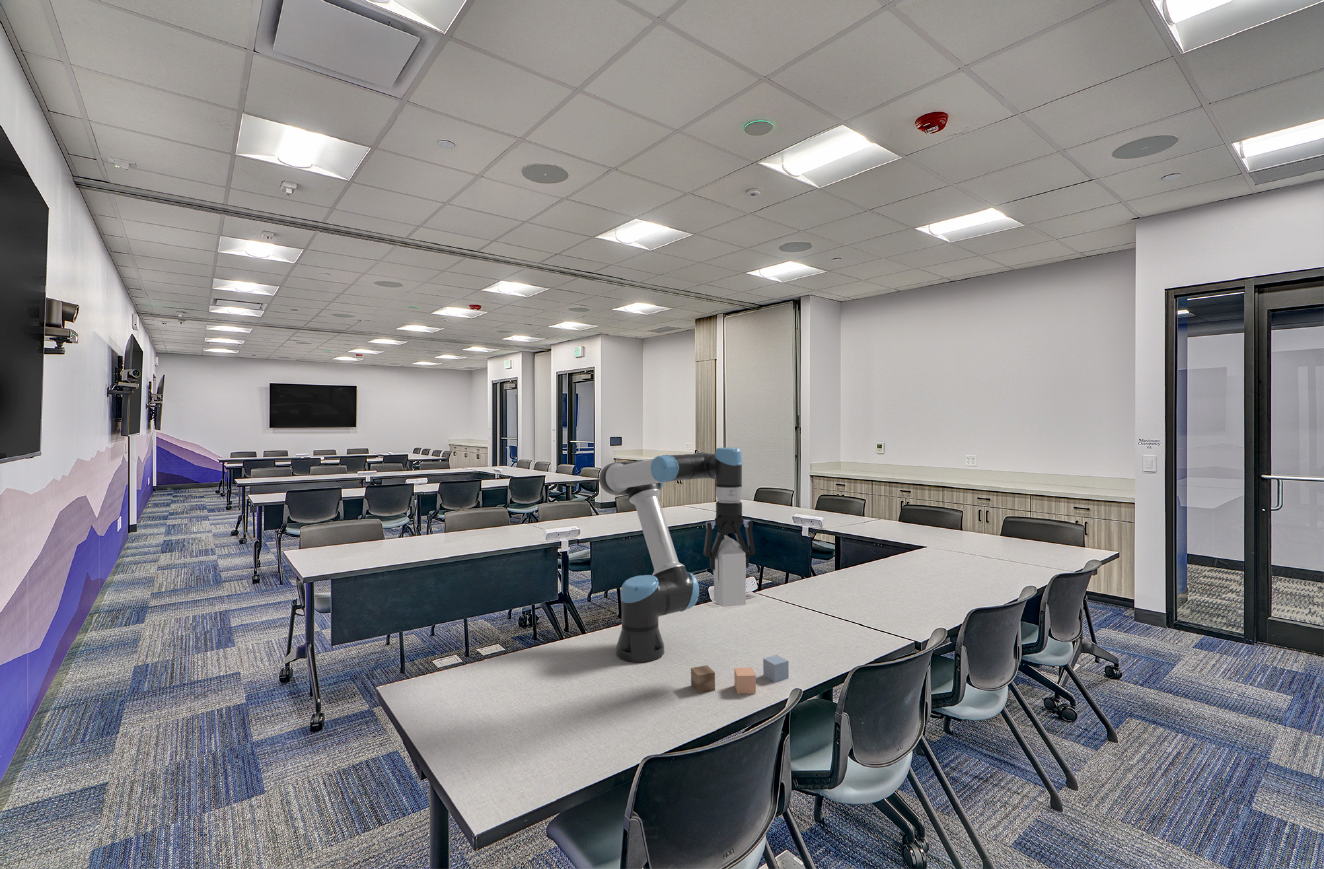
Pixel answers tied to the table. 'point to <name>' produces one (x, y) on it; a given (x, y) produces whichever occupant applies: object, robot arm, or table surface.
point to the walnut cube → (703, 679)
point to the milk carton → (730, 574)
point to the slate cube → (775, 668)
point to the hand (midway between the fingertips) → (729, 579)
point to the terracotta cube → (744, 680)
